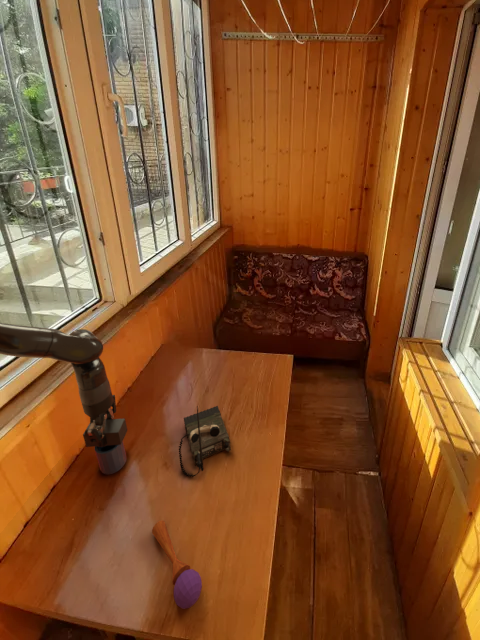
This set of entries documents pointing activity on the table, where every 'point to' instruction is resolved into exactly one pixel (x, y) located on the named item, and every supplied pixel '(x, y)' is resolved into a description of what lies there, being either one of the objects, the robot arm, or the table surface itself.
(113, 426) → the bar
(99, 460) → the cup
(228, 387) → the table surface
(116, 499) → the table surface
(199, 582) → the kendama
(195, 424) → the radio
